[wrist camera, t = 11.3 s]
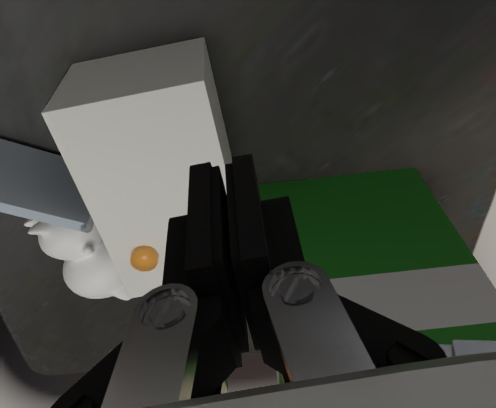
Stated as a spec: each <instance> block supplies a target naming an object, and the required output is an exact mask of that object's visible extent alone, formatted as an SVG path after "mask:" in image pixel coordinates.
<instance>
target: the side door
mask: <svg viewBox="0 0 496 408" xmlns="http://www.w3.org/2000/svg"><path fill="white" fill-rule="evenodd" d="M0 212H3V213H7V214H11V215H15V216H19V217H23V218H27V219H32V220H36V221H40V222H44V223H48V224H52V225H56V226H60V227H65V228H69V229H73V230H77V231H81V232H85V233H89V232H91V231H92V228H93V225H94V222H93V219H92V217H91V215H90V213H89V211H88V209H87V207H86V205H85V203H84V201H83V199H82V197H81V195H80V193H79V190H78V188H77V186H76V184H75V182H74V180H73V178H72V176H71V174H70V172H69V170H68V168H67V166H66V163H65V161H64V159H63V157H62V156H60V155H56V154H53V153H49V152H46V151H42V150H38V149H35V148H31V147H28V146H24V145H21V144H17V143H14V142H10V141H7V140H3V139H0Z"/></svg>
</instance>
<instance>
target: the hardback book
mask: <svg viewBox="0 0 496 408" xmlns="http://www.w3.org/2000/svg"><path fill="white" fill-rule="evenodd" d="M258 187H259V192H260V197H261V201H263V200H268V199H274V198H279V197H284V196H289V199H290V203H291V207H292V211H293V215H294V219H295V223H296V227H297V231H298V235H299V240H300V244H301V248H302V252H303V256H304V260H305V261H306V262H309V263H312V264H315V265H317V266H319V267H320V268H322V269H323V270H324V272H325V273H326V274H327V275H328V277H329V279H330V281H331V283H332V285H333V287H334V289H335V291H336V293H337V294H338V295H341V296H343V297H345V298H347V299H349V300H351V301H353V302H356V303H358V304H360V305H362V306H364V307H366V308H368V309H370V310H373V311H375V312H377V313H379V314H381V315H383V316H385V317H388V318H390V319H392V320H394V321H396V322H398V323H400V324H403V325H405V326H407V327H409V328H411V329H413V330H415V331H417V332H420V333H422V334H424V335H426V336H428V337H429V338H431V339H432V340H434V341H435V342H437V343H438V344H443V345H452V340H482V341H496V289H495V287H494V286H493V284H492V283H491V281H490V280H489V278H488V277H487V275H486V274H485V272H484V271H483V269H482V268H481V266H480V265H479V263H478V262H477V260H476V259H475V257H474V256H473V254H472V253H471V251H470V250H469V248H468V247H467V245H466V244H465V242H464V241H463V239H462V238H461V236H460V235H459V233H458V232H457V230H456V229H455V227H454V226H453V224H452V223H451V221H450V220H449V218H448V217H447V215H446V214H445V212H444V211H443V210H442V208H441V207H440V205H439V204H438V202H437V201H436V199H435V198H434V196H433V195H432V193H431V192H430V190H429V189H428V187H427V186H426V184H425V183H424V181H423V180H422V178H421V177H420V175H419V174H418V172H417V171H416V169H415V168H409V169H400V170H390V171H380V172H371V173H361V174H351V175H342V176H332V177H322V178H313V179H303V180H294V181H284V182H274V183H265V184H258ZM276 372H277V380H278V384H283V379H282V375H281V373H279V372H278V371H276Z"/></svg>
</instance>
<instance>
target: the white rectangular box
mask: <svg viewBox="0 0 496 408" xmlns="http://www.w3.org/2000/svg"><path fill="white" fill-rule="evenodd" d="M41 114H42V116H43V118H44V120H45V122H46V124H47V126H48V128H49V130H50V132H51V134H52V136H53V139H54V141H55V143H56V145H57V147H58V149H59V151H60V153H61V155H62V157H63V159H64V161H65V163H66V166H67V168H68V170H69V172H70V174H71V176H72V178H73V180H74V182H75V184H76V186H77V188H78V190H79V193H80V195H81V197H82V199H83V201H84V203H85V205H86V207H87V209H88V211H89V213H90V215H91V217H92V219H93V222H94V224H95V226H96V228H97V230H98V232H99V234H100V236H101V238H102V240H103V242H104V244H105V246H106V249H107V251H108V253H109V255H110V257H111V259H112V261H113V263H114V265H115V267H116V269H117V271H118V273H119V275H120V278H121V280H122V282H123V284H124V286H125V288H126V290H127V292H128V294H129V296H130V298H135V297H141V296H144V295H145V294H146V293H148V292H149V291H151V290H152V289H154V288H157V287H159V286H161V285H162V281H163V271H164V261H165V251H166V241H167V230H168V222H169V219H170V218H172V217H178V216H183V215H187V209H188V188H189V168H190V166H191V165H196V164H201V163H206V162H210V163H211V165H212V167H214V166H219V167H220V171H221V174H222V178H223V182H224V186H225V190H226V175H225V164H230V163H232V155H231V151H230V147H229V142H228V138H227V134H226V129H225V125H224V121H223V116H222V112H221V108H220V103H219V99H218V95H217V90H216V86H215V82H214V77H213V73H212V69H211V64H210V60H209V56H208V52H207V47H206V43H205V39H204V37H201V38H197V39H192V40H187V41H182V42H177V43H172V44H167V45H162V46H158V47H153V48H148V49H143V50H138V51H133V52H128V53H123V54H118V55H114V56H109V57H104V58H99V59H94V60H89V61H84V62H79V63H74V64H72V65H71V67H70V68H69V70H68V71H67V72H66V74H65V75H64V77H63V79H62V80H61V82H60V83H59V85H58V87H57V88H56V90H55V91H54V93H53V94H52V96H51V98H50V99H49V101H48V102H47V104H46V106H45V108H44V110H43V111H42V113H41ZM226 194H227V191H226Z"/></svg>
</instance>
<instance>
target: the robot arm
mask: <svg viewBox="0 0 496 408" xmlns="http://www.w3.org/2000/svg"><path fill="white" fill-rule="evenodd" d="M225 175H226V190H225V186H224V182H223V178H222V174H221V171H220V167H219V166H214V167H212V165H211V163H210V162H206V163H201V164H196V165H191V166H190V168H189V188H188V209H187V215H183V216H178V217H172V218H170V219H169V222H168V230H167V241H166V251H165V261H164V271H163V281H162V285H161V286H159V287H157V288H154V289H152V290H151V291H149V292H148V293H146V294H145V295H144V296H143V297H142V298H141V299H140V300H139V301H138V302H137V304H136V306H135V308H134V310H133V313H132V316H131V319H130V322H129V325H128V328H127V331H126V334H125V337H124V340H123V341H122V342H121V343H120V344H119V345H118V346H117V347H116V348H115V349H113V350H112V351H111V352H110V353H109V354H108V355H107V356H106V357H104V358H103V359H102V360H101V361H100V362H99V363H98V364H97V365H96V366H94V367H93V368H92V369H91V370H90V371H89V372H88V373H87V374H86V375H85V376H83V377H82V378H81V379H80V380H79V381H78V382H77V383H75V385H73V386H72V387H71V388H70V389H69V390H68V391H67V392H66V393H64V394H63V395H62V396H61V397H60V398H59V399H58V400H57V401H56V402H55V404H53V405H52V407H51V408H496V341H482V340H452V345H443V344H438V343H437V342H435V341H434V340H432V339H431V338H429V337H428V336H426V335H424V334H422V333H420V332H417V331H415V330H413V329H411V328H409V327H407V326H405V325H403V324H400V323H398V322H396V321H394V320H392V319H390V318H388V317H385V316H383V315H381V314H379V313H377V312H375V311H373V310H370V309H368V308H366V307H364V306H362V305H360V304H358V303H356V302H353V301H351V300H349V299H347V298H345V297H343V296H341V295H338V294H337V293H336V291H335V289H334V287H333V285H332V283H331V281H330V279H329V277H328V275H327V274H326V273H325V272H324V270H323V269H322V268H320V267H319V266H317V265H315V264H312V263H309V262H306V261H305V260H304V256H303V252H302V248H301V244H300V240H299V235H298V231H297V227H296V223H295V219H294V215H293V211H292V207H291V203H290V199H289V196H284V197H279V198H274V199H268V200H263V201H261V197H260V192H259V187H258V182H257V177H256V172H255V168H254V163H253V158H252V154H248V155H243V156H238V157H232V163H230V164H225ZM226 191H227V194H226ZM246 319H247V322H248V326H249V329H250V333H251V337H252V340H253V344H254V348H255V350H261V354H262V357H263V361H264V363H265V364H267V365H269V366H270V367H272V368H273V369H275V370H276V371H278V372H279V373H281V375H282V379H283V384H278V385H271V386H265V387H259V388H253V389H247V390H241V391H235V392H230V393H228V383H227V380H226V379H227V378H228V377H229V375H230V374H231V373H232V372H233V371H234V370H235V369H236V368H237V367H242V356H241V353H244V352H249V344H248V333H247V322H246Z"/></svg>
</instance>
